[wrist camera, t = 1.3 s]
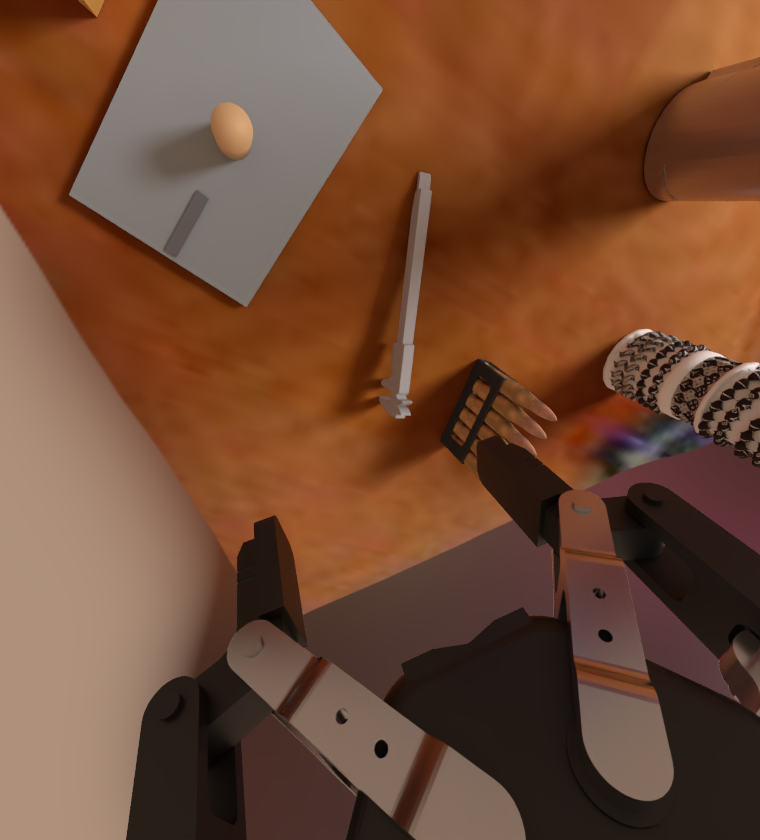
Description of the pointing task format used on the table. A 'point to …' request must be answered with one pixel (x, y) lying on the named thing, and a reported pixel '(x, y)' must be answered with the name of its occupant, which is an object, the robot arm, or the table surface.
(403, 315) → the caliper
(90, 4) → the mustard yellow cube
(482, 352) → the table surface
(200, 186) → the post board
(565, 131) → the table surface
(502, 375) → the ammunition clip
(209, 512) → the table surface
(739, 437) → the decorative candle
